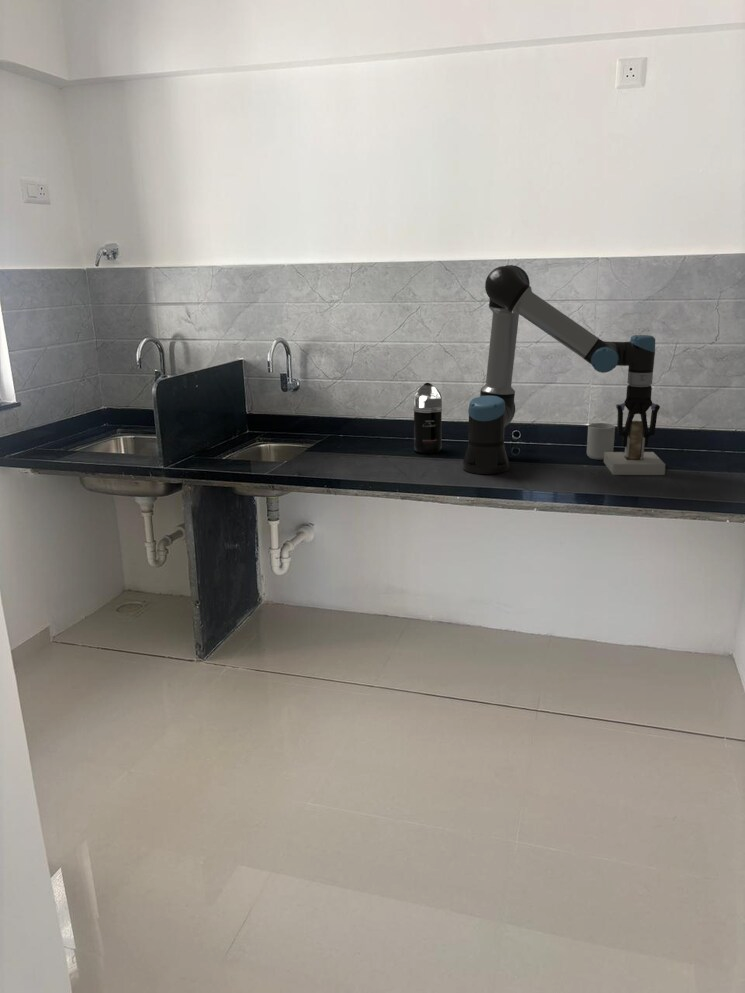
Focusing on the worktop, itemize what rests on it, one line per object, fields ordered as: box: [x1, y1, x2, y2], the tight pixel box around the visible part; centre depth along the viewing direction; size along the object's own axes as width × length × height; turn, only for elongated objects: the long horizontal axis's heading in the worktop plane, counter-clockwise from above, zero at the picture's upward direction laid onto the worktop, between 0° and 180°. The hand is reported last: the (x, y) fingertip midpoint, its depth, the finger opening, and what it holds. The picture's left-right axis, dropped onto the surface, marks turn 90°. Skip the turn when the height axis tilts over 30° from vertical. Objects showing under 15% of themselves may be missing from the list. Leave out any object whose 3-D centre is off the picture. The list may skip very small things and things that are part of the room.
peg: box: [627, 420, 643, 460], centre depth 254 cm, size 4×4×14 cm
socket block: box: [603, 451, 666, 476], centre depth 256 cm, size 16×16×4 cm
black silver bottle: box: [413, 382, 443, 454], centre depth 281 cm, size 10×10×25 cm
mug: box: [586, 422, 616, 461], centre depth 271 cm, size 12×9×11 cm
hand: (633, 456), depth 255 cm, fingers closed on peg, 4 cm apart
